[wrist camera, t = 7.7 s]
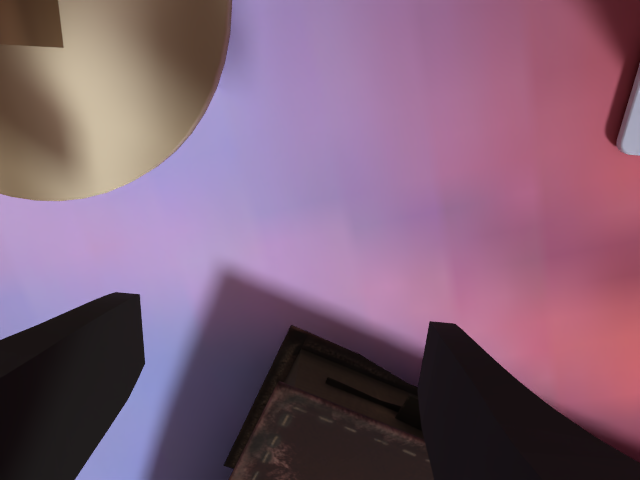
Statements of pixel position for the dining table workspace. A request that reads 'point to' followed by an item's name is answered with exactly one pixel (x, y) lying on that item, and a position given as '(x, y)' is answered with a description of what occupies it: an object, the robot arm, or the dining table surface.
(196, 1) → the lid
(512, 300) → the dining table surface
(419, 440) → the diary
